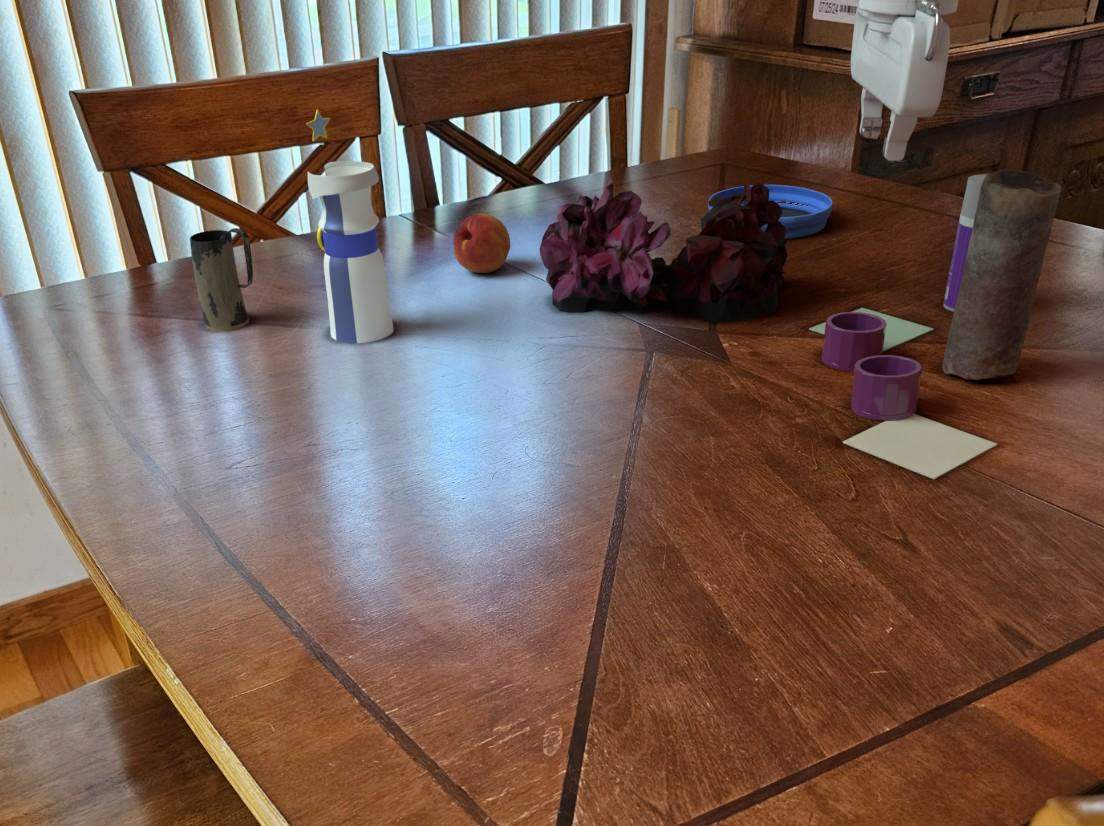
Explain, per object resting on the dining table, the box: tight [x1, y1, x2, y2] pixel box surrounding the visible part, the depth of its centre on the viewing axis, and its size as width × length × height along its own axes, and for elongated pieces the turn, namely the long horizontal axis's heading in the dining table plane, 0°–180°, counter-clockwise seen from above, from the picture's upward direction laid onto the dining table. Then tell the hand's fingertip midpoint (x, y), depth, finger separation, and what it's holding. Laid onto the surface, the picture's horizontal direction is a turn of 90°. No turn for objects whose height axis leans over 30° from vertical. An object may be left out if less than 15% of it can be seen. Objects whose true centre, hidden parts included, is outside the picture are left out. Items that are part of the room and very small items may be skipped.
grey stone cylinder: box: [941, 169, 1062, 381], centre depth 111 cm, size 8×7×20 cm
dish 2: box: [850, 354, 923, 422], centre depth 109 cm, size 6×6×4 cm
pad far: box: [809, 307, 935, 353], centre depth 128 cm, size 10×10×1 cm
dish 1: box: [821, 311, 887, 372], centre depth 119 cm, size 6×6×4 cm
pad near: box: [842, 413, 999, 480], centre depth 103 cm, size 10×10×1 cm
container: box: [942, 173, 987, 313], centre depth 128 cm, size 5×5×15 cm
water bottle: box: [305, 109, 394, 344], centre depth 127 cm, size 8×9×25 cm
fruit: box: [453, 212, 511, 274], centre depth 149 cm, size 8×8×8 cm
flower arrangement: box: [539, 173, 788, 323], centre depth 135 cm, size 31×20×15 cm, turn 88°
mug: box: [189, 227, 254, 332], centre depth 135 cm, size 8×6×12 cm
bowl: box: [707, 184, 834, 240], centre depth 164 cm, size 18×18×4 cm
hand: (880, 147), depth 109 cm, fingers open, 8 cm apart
